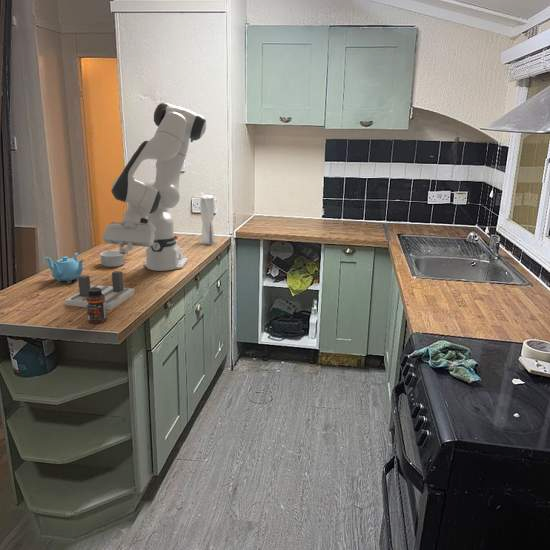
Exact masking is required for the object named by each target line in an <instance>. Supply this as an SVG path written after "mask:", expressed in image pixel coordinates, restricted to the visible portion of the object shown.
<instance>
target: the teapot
mask: <svg viewBox="0 0 550 550" xmlns="http://www.w3.org/2000/svg"><path fill="white" fill-rule="evenodd" d="M78 254H79V252H75V253H74V255H73V258H72V257H70V258H69V256H62V257H61V258H59V259H57V260H56V261H55V262H53V260H52V258H51V257H49V256H44V258H45V259H46V260H47V261H48V267H49V269H50V271H51V276H52V278H54V279H55V280H56V283H61V282H62V281H63V282H64V281H66V284H72V283H73V281H74V280H75V281H76V280H77V281H78V277H79V276H81V275H82V273H83V270H84V267H83V261H84V260H85V259H84V258H83V259H80V260H79V261H78ZM72 280H73V281H72Z"/></svg>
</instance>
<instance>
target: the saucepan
mask: <svg viewBox="0 0 550 550" xmlns="http://www.w3.org/2000/svg"><path fill="white" fill-rule="evenodd" d="M119 250H120V249H113V250H104V251H102V252H100V253H99V256H100V264H101V265H102V266H104V267H106V268H117V267H121V266H123V265H124V264H125V263H126V254H120V253H119Z"/></svg>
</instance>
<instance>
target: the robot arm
mask: <svg viewBox="0 0 550 550" xmlns="http://www.w3.org/2000/svg"><path fill="white" fill-rule="evenodd" d="M153 122H154V123H155V125H156V126H157V128H156V131H155V133H154V135H153V137H152V138H151V139H149V140H144V141H143V142H142V143H141V144H140V145H139V147H138V148H137V149H136V151H135V152H134V153H133V155H132V156H131V158H130V160H129V161H128V162H127V163H126V165H125V167H124V169H123V170H122V172H121V173H120V174H119V175H118V176H117V177H116V179H115V180H114V181H113V183H112V184H111V194H112V196H113V197H114V199H115V200H117V201H119V202H123V203H126V204H127V209H126V211H125V212H124V215H123V217H122V220H121V222H119V221H118V222H115V221H112V222H109V223H108V224H107V225H106V228H105V230H104V231H103V234H102V235H101V238H102V240H103V242H104V243H105V244H107V245H109V244H110V245H118V247H119V249H118V250H119V253H120V254H125V255H129V252H130V251H131V250H132V249H133V248H134V247H144V248H146V249H145V251H146V254H145V256H146V257H145V262H144V263H143V266H144V267H146V268H147V269H148V270H151V271H158V272H159V271H161V272H164V271H165V272H166V271H173V270H179V269H181V270H182V269H183V267H184V266H185V265H186V263H188V261H189V259H188V258H187V257H185V256H184V255H183V253H184V252H183V249H182V248H181V247H180V246H179V245H178V244H177V240H178V235H177V234H176V235H175V233H174V230H175V229H174V218H173V216H172V214H171V210H170V209H172V208H175V207H176V206H177V205H178V204H179V202H180V192H179V183H180V176H181V172H182V169H183V166H184V162H185V159H186V157H187V153H188V149H189V146H190V143H193V142H194V141H198V140H200V139H201V138H202V137H203V136H204V134H205V133H206V130H207V121H206V118H205V117H204V116H203V115H201V114H197V113H196V112H193V111H191V110H189V109H186V107H185V108H184V107H181V106H176V105H173V104H170V103H167V102H161V103H158V105H157V106H156V108H155V109H154V112H153ZM146 160H155V161H156V162H155V169H156V170H155V171H156V172H155V179H153V180H148V181H144V182H142V181H140V180H138V179H136V178H134V174H135V172H136V171H137V169H138V168H139V167H140V165H141V164H142V162H144V161H146ZM125 246H126V247H125ZM124 247H125V248H124Z"/></svg>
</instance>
